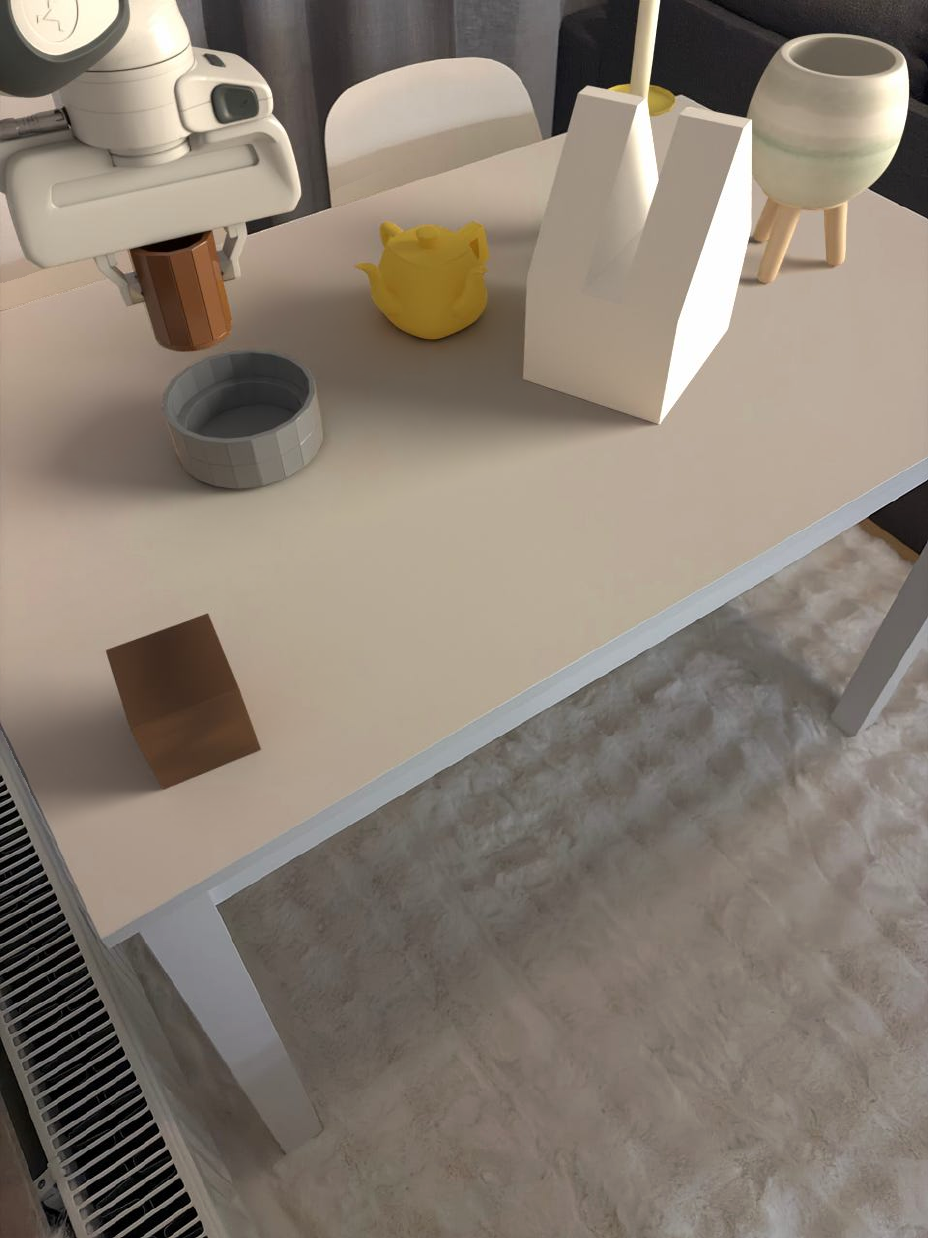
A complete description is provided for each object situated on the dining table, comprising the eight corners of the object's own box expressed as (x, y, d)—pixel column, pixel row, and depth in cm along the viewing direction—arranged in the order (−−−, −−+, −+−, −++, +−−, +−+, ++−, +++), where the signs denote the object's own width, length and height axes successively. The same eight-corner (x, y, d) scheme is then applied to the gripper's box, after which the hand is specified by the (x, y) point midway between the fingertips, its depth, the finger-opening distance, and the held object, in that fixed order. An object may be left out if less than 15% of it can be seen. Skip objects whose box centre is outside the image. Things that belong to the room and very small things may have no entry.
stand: (163, 790, 66) (129, 729, 60) (138, 713, 70) (105, 650, 64) (261, 749, 68) (238, 687, 62) (231, 677, 72) (208, 612, 66)
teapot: (363, 347, 100) (353, 262, 93) (382, 281, 109) (374, 198, 101) (488, 352, 99) (488, 267, 92) (497, 285, 108) (498, 202, 100)
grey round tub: (201, 510, 84) (185, 460, 80) (162, 424, 93) (145, 374, 88) (345, 463, 88) (337, 413, 84) (295, 384, 96) (285, 334, 92)
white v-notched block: (659, 424, 91) (705, 169, 72) (523, 378, 96) (532, 129, 77) (727, 328, 101) (784, 83, 82) (601, 291, 107) (627, 53, 87)
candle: (677, 225, 116) (730, -91, 91) (633, 257, 111) (676, -67, 86) (612, 201, 120) (645, -106, 95) (567, 231, 116) (589, -85, 91)
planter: (732, 219, 117) (774, 19, 100) (863, 240, 113) (930, 35, 96) (705, 283, 107) (747, 74, 90) (847, 308, 103) (919, 95, 86)
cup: (165, 360, 71) (136, 262, 65) (145, 320, 74) (116, 225, 68) (242, 339, 73) (221, 242, 67) (219, 301, 76) (197, 206, 70)
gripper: (-26, 145, 55) (54, 344, 66) (293, 83, 61) (319, 275, 72) (-40, 107, 59) (37, 302, 70) (262, 53, 65) (291, 240, 76)
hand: (183, 288), depth 71 cm, fingers closed on cup, 6 cm apart
